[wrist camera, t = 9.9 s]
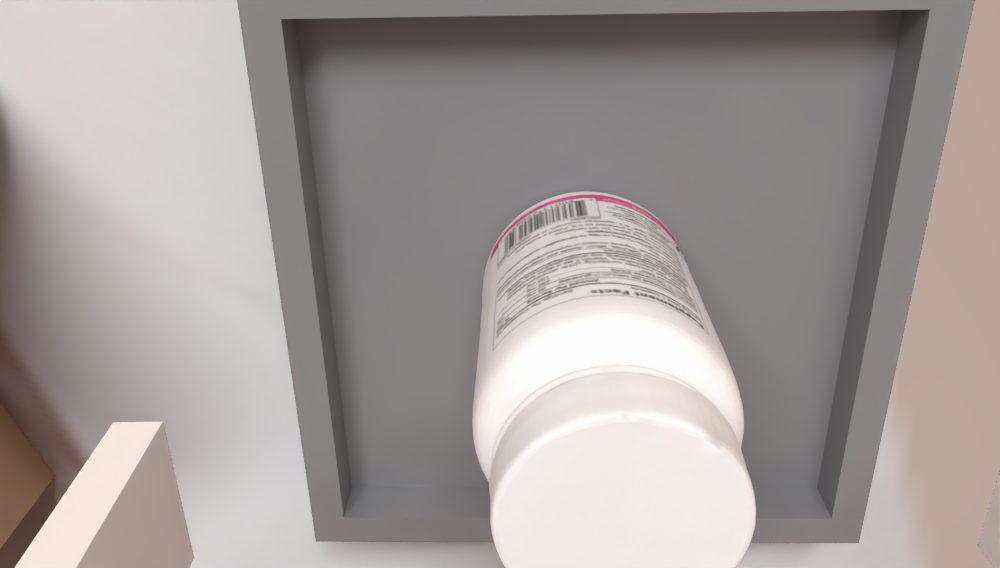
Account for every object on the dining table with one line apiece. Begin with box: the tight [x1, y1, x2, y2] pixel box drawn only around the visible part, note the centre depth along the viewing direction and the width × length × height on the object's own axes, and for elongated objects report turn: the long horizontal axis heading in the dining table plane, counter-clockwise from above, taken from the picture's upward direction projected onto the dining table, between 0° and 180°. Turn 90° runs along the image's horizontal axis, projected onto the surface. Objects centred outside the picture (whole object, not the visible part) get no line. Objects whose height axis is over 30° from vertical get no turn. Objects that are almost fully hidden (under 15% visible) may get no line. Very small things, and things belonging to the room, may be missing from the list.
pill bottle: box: [472, 191, 756, 568], centre depth 17 cm, size 5×5×8 cm
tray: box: [237, 0, 975, 543], centre depth 20 cm, size 14×14×2 cm
